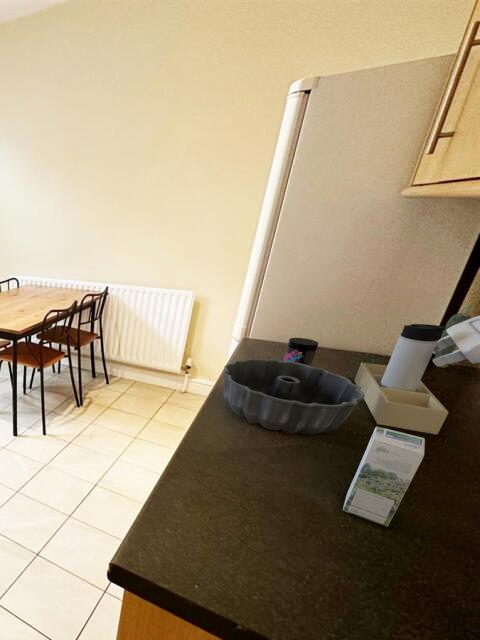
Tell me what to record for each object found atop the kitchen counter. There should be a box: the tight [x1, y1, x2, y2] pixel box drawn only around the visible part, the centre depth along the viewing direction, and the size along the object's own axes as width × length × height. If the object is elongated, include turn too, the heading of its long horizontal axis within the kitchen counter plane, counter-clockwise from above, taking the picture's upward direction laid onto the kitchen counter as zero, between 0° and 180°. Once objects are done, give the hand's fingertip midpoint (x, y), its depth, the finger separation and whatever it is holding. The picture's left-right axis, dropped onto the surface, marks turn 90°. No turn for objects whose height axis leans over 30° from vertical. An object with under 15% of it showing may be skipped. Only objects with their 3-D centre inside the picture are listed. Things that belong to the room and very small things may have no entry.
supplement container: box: [282, 337, 319, 367], centre depth 119 cm, size 7×7×10 cm
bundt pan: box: [222, 358, 365, 436], centre depth 97 cm, size 26×26×10 cm
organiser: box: [354, 362, 449, 435], centre depth 102 cm, size 10×28×6 cm, turn 148°
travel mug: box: [379, 323, 446, 392], centre depth 98 cm, size 6×7×20 cm
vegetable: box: [434, 300, 479, 369], centre depth 120 cm, size 4×4×20 cm
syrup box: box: [342, 426, 426, 528], centre depth 66 cm, size 6×6×14 cm
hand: (430, 357), depth 96 cm, fingers open, 8 cm apart
